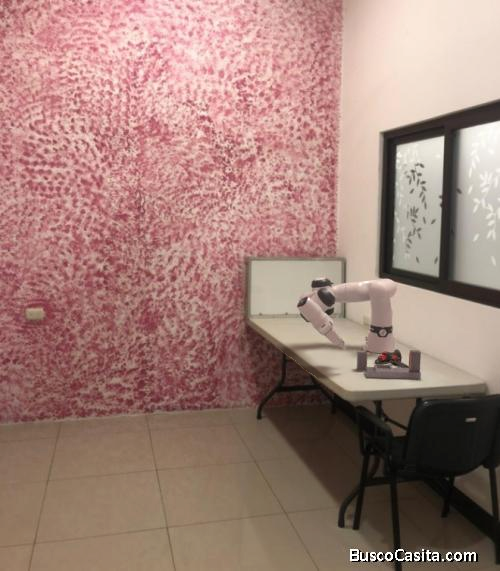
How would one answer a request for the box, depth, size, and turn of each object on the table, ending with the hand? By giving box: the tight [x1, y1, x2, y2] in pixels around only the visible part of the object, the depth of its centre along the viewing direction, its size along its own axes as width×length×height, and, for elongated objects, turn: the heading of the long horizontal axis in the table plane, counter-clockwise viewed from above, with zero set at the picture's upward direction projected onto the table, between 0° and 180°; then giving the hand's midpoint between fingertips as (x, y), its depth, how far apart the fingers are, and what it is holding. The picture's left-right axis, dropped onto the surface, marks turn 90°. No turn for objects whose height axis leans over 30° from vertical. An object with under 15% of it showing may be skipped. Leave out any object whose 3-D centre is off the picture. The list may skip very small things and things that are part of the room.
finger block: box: [356, 349, 368, 372], centre depth 287 cm, size 4×4×9 cm
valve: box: [374, 348, 409, 368], centre depth 298 cm, size 6×26×15 cm
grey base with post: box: [364, 349, 422, 380], centre depth 276 cm, size 8×24×12 cm, turn 86°
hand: (344, 346), depth 287 cm, fingers open, 8 cm apart
